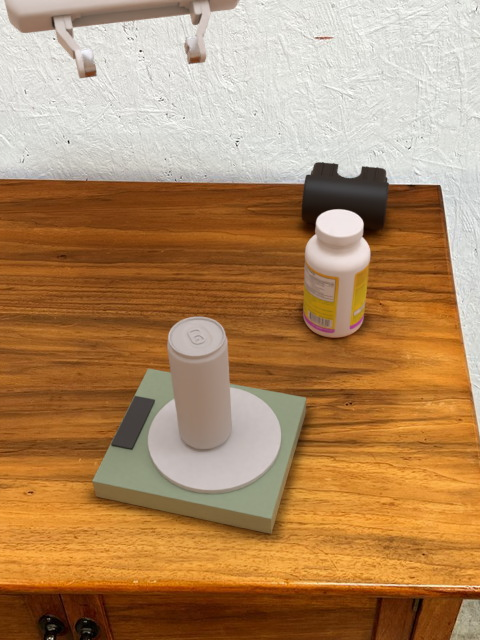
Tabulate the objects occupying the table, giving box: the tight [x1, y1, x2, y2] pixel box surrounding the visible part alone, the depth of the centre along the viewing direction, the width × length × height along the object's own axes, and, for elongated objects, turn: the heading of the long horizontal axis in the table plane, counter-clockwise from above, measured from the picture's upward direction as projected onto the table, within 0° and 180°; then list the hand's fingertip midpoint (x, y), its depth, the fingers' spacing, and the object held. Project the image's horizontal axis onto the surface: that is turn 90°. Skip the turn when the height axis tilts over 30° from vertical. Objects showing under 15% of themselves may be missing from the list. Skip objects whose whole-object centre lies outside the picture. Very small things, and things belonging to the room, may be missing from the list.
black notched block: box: [301, 161, 390, 231], centre depth 95 cm, size 10×7×7 cm
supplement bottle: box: [302, 209, 371, 339], centre depth 80 cm, size 7×7×13 cm
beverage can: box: [167, 316, 232, 449], centre depth 66 cm, size 5×5×12 cm
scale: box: [91, 368, 307, 535], centre depth 71 cm, size 16×14×3 cm
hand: (143, 68), depth 66 cm, fingers open, 8 cm apart
